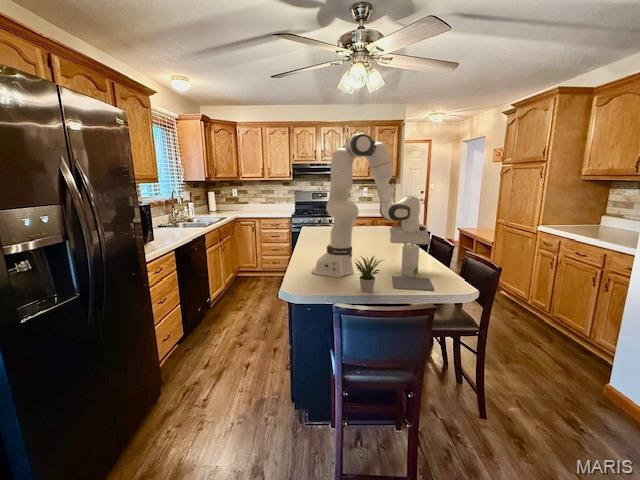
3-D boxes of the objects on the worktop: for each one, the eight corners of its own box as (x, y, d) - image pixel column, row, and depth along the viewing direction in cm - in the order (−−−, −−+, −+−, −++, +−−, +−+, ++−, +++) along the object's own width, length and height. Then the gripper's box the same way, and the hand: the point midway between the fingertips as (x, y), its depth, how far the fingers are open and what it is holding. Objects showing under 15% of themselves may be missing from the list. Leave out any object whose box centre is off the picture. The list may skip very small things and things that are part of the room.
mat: (393, 288, 138) (393, 287, 138) (392, 277, 154) (392, 275, 154) (434, 291, 135) (434, 289, 135) (428, 279, 150) (429, 278, 150)
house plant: (381, 284, 143) (382, 251, 140) (388, 295, 130) (390, 259, 126) (351, 284, 143) (352, 251, 139) (355, 296, 129) (356, 259, 126)
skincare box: (412, 278, 152) (414, 248, 149) (400, 275, 156) (401, 246, 152) (418, 274, 158) (420, 245, 155) (406, 271, 162) (407, 243, 159)
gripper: (390, 226, 161) (389, 251, 164) (430, 228, 157) (428, 253, 160) (390, 225, 167) (388, 249, 170) (428, 226, 163) (426, 250, 166)
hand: (408, 251), depth 165 cm, fingers closed
